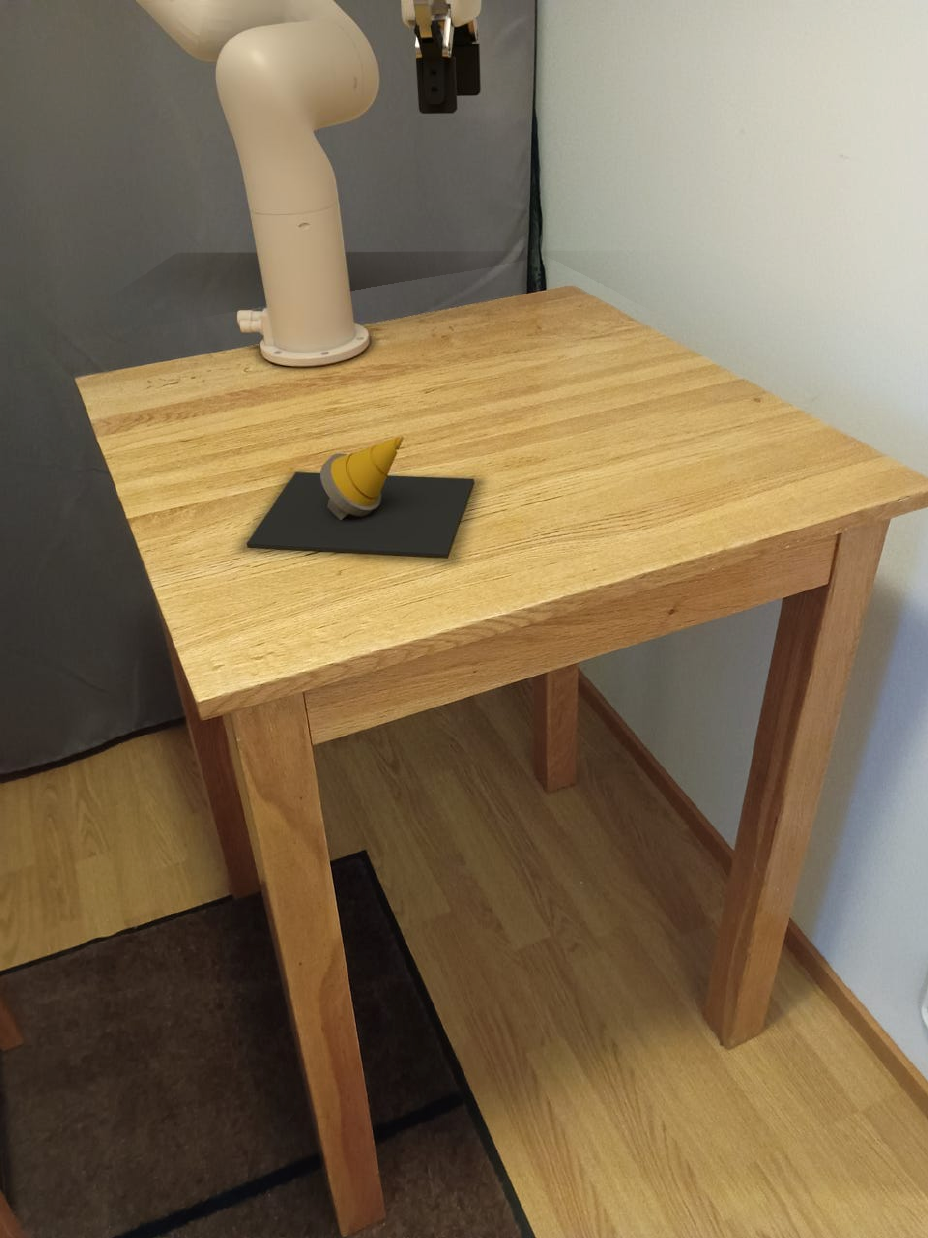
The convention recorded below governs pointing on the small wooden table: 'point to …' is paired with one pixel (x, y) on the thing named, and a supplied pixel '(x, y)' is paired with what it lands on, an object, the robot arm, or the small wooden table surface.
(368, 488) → the yellow cone
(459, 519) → the mat
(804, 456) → the small wooden table surface
